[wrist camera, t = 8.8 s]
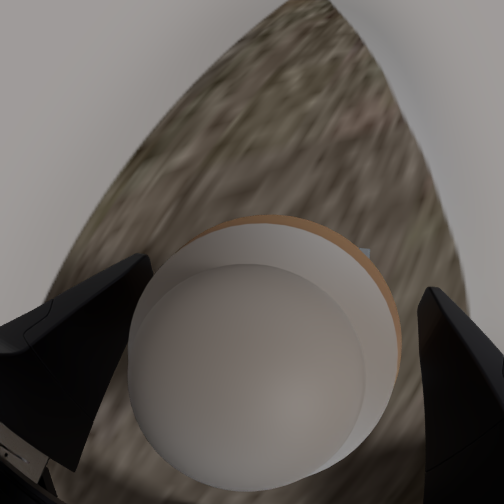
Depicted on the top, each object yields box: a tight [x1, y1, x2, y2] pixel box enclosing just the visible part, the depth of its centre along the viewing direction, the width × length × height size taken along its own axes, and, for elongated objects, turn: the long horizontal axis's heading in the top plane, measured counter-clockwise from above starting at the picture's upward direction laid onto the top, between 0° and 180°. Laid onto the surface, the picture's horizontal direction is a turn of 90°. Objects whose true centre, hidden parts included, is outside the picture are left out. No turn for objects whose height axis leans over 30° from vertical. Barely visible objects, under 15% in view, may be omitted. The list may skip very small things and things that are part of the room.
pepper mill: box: [128, 215, 402, 491], centre depth 9 cm, size 5×5×15 cm
